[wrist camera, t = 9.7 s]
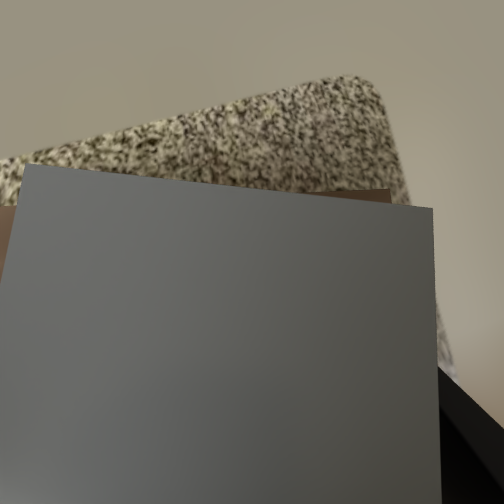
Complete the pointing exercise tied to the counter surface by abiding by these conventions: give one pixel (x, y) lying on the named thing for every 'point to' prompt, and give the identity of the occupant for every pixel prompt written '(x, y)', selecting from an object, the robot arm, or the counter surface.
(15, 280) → the grey rectangular block
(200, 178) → the counter surface
